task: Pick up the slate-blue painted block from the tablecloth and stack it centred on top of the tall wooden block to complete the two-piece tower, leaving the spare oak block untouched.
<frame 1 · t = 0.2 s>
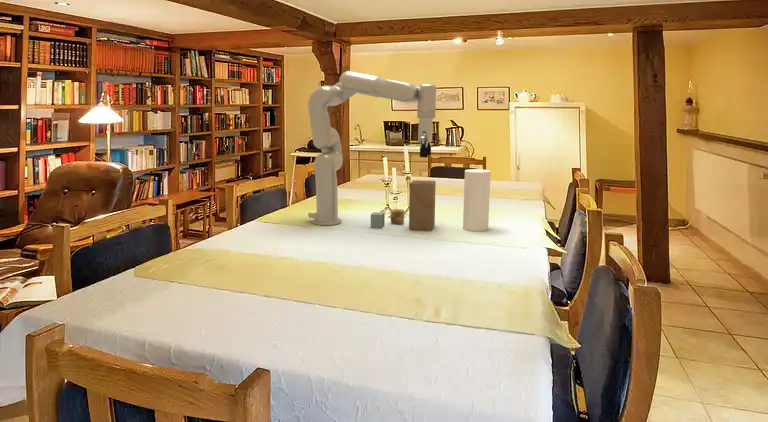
hand: (425, 156, 216), 31 cm above the table, fingers open, 9 cm apart
wooden block: (421, 228, 223), on the table
slate block: (377, 227, 224), on the table
spare oak block: (397, 223, 231), on the table
tall pillar cylinder: (475, 228, 222), on the table
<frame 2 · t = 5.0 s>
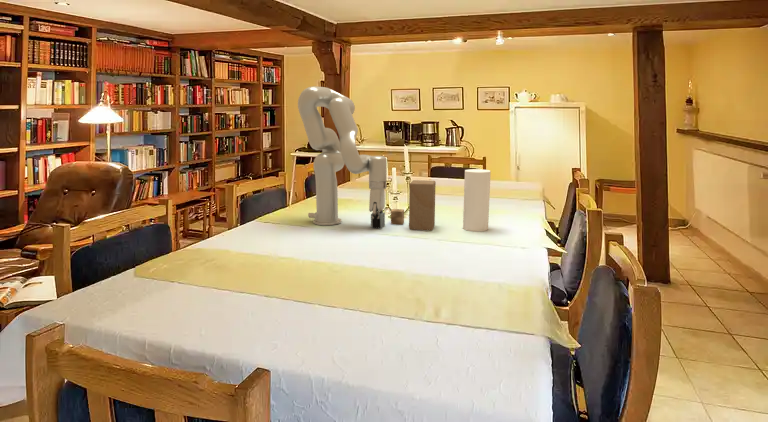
hand: (377, 225, 224), 0 cm above the table, fingers closed on slate block, 5 cm apart
slate block: (377, 226, 224), on the table, touching gripper
everything else where it was.
when the fingers open (22 cm above the table, at t = 11.9 s): slate block drops 1 cm, resting on wooden block.
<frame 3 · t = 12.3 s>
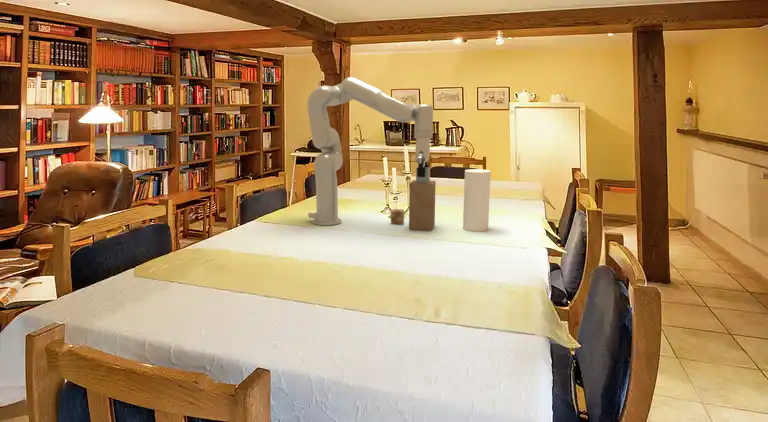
hand: (422, 175, 218), 23 cm above the table, fingers open, 9 cm apart
wooden block: (421, 228, 223), on the table, touching slate block
slate block: (422, 182, 219), point 20 cm above the table, touching wooden block
everything else where it was.
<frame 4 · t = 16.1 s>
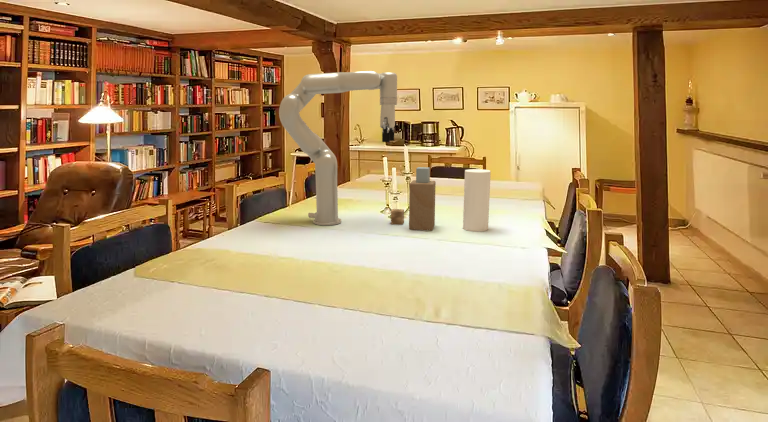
hand: (388, 141, 228), 36 cm above the table, fingers open, 9 cm apart
nothing on the table moved.
at the end: slate block inside the target area in the wooden block (0.1 cm from its centre), point 20.2 cm above the wooden block's base; slate block touching wooden block; slate block tilted 0° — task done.
